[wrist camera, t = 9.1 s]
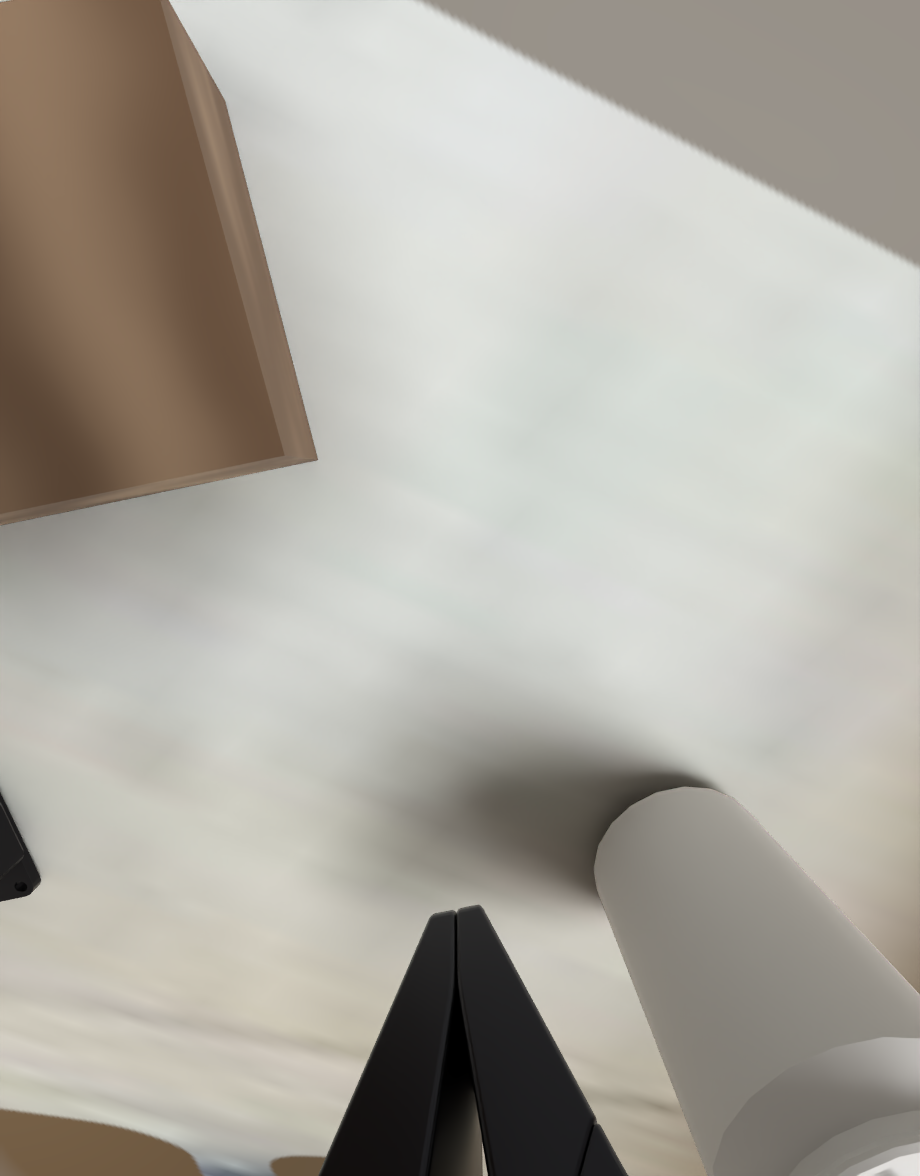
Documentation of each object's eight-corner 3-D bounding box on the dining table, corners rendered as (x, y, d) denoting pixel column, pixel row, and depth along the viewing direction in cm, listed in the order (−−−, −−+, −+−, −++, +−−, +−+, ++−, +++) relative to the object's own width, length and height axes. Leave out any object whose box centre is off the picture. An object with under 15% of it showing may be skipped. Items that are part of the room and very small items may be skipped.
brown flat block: (-63, 538, 18) (-204, 556, 14) (-219, 191, 15) (-445, 93, 11) (317, 460, 18) (284, 455, 14) (224, 100, 15) (152, -29, 11)
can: (646, 942, 23) (855, 1408, 12) (554, 839, 22) (690, 1258, 10) (779, 854, 23) (1146, 1260, 11) (694, 742, 21) (1016, 1073, 9)
